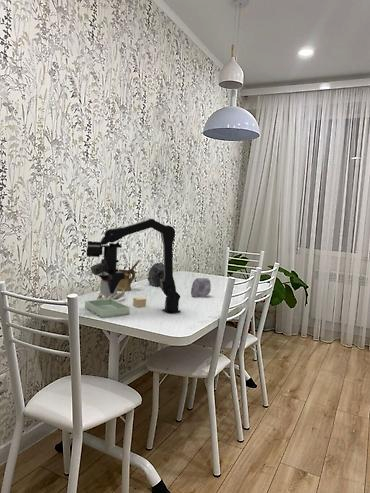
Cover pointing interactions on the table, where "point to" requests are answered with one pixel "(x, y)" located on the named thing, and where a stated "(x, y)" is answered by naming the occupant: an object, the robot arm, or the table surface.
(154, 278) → the rock
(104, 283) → the tea tin
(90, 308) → the tote
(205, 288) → the rock
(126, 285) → the wooden mug
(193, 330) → the table surface
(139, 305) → the carton
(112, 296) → the skeleton model
